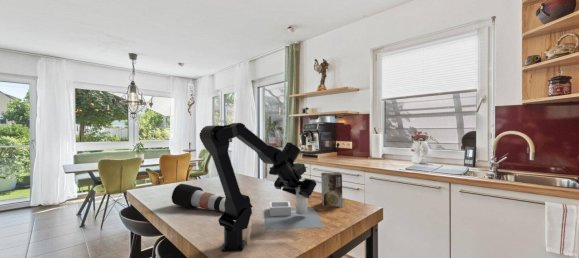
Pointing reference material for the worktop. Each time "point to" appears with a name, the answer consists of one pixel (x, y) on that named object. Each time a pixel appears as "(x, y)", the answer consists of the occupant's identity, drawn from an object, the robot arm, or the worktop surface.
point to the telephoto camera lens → (197, 198)
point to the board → (290, 217)
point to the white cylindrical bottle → (300, 203)
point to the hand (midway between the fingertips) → (303, 196)
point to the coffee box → (332, 189)
